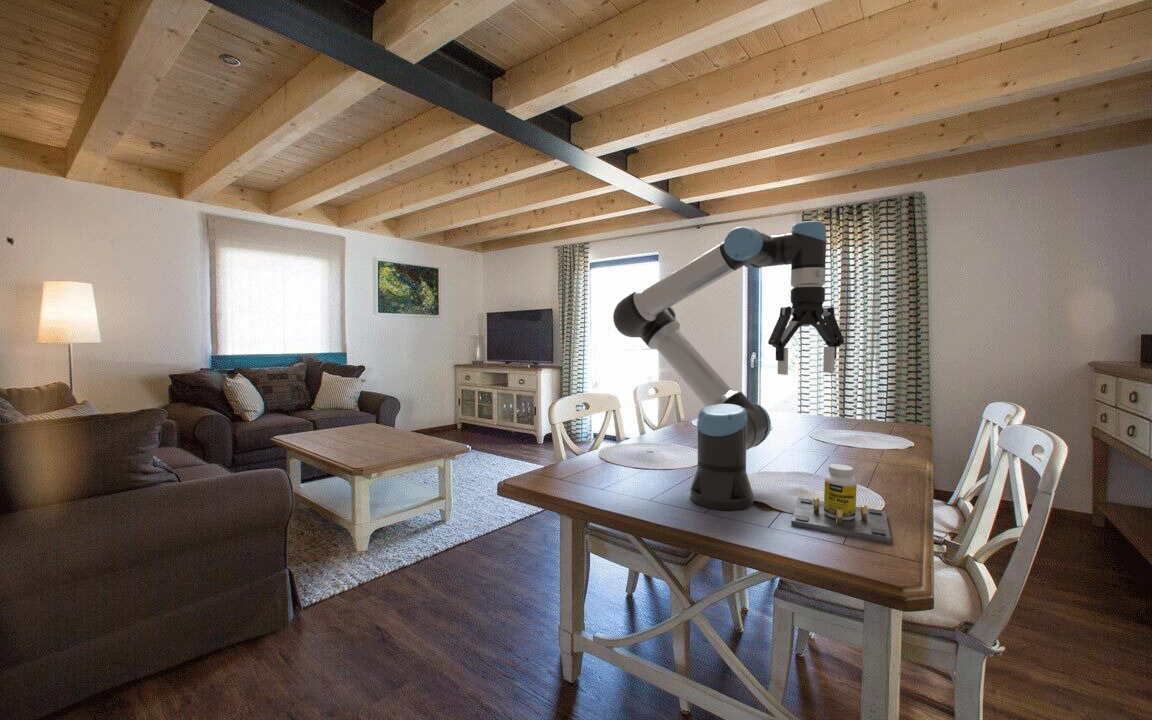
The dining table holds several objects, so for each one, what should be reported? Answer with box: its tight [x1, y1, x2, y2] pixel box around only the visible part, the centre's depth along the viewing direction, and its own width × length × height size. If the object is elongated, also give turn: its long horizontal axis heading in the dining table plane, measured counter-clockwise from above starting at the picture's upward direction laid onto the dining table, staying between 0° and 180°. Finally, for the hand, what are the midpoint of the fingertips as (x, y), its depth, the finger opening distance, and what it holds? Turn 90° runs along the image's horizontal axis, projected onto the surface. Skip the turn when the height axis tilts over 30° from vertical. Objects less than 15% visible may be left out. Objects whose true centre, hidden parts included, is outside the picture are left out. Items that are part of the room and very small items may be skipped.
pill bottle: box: [823, 463, 858, 520], centre depth 104 cm, size 6×6×11 cm
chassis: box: [790, 497, 892, 545], centre depth 105 cm, size 18×16×4 cm
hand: (806, 373), depth 116 cm, fingers open, 13 cm apart
